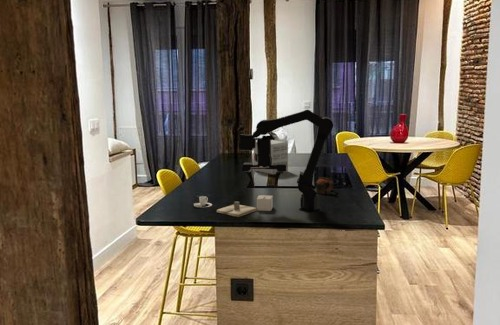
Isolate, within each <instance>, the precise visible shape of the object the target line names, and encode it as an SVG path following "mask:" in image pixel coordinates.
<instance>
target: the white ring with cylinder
mask: <svg viewBox="0 0 500 325" xmlns="http://www.w3.org/2000/svg"><path fill="white" fill-rule="evenodd" d="M198 199H199V202H195V203H193V206H194V208H203V207H205V208H210V207H212V206H213V204H212V203H210V202H208V201H209V200H208V199H209V198H208V197H207V196H205V195H201V196H199V197H198ZM206 204H207V205H208V206H207V205H206Z"/></svg>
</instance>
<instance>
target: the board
mask: <svg viewBox="0 0 500 325" xmlns="http://www.w3.org/2000/svg"><path fill="white" fill-rule="evenodd" d="M256 211H258V210H257V207H254V206H248V205H242V204H240V201H233V204H230V205H228V206H224V207H221V208H218V209H216V213H219V214H223V215H228V216H232V217H236V218H240V217H243V216H245V215H246V216H247V215H248V214H251V213H255V212H256Z"/></svg>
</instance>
